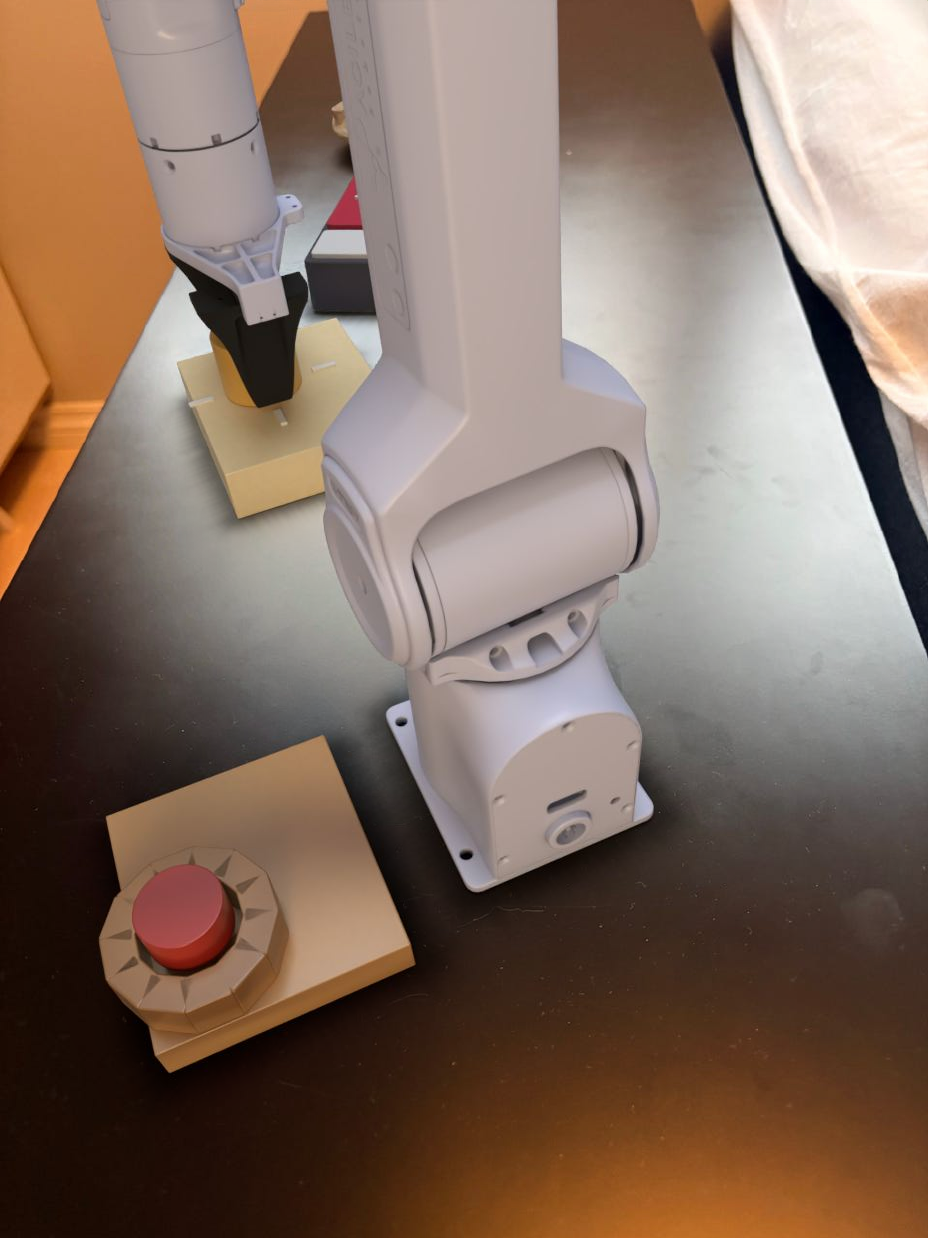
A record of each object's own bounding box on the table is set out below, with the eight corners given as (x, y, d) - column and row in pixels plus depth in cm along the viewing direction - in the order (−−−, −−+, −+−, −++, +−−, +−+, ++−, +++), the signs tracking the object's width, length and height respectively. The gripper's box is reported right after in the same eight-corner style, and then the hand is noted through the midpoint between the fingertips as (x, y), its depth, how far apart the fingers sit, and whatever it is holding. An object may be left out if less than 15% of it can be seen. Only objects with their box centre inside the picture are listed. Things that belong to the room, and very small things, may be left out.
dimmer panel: (411, 464, 55) (405, 417, 53) (232, 521, 53) (218, 474, 51) (343, 359, 63) (335, 314, 61) (185, 405, 61) (170, 360, 59)
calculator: (497, 162, 73) (468, 250, 63) (499, 220, 76) (471, 314, 66) (352, 163, 75) (299, 249, 64) (359, 220, 78) (311, 312, 67)
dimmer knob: (235, 415, 54) (218, 354, 52) (216, 375, 57) (199, 316, 55) (311, 393, 55) (298, 332, 53) (289, 355, 58) (276, 295, 55)
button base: (416, 965, 36) (405, 920, 33) (150, 1082, 33) (116, 1044, 31) (330, 757, 42) (315, 707, 40) (103, 844, 40) (72, 797, 37)
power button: (245, 949, 33) (233, 925, 32) (157, 987, 32) (140, 964, 31) (224, 876, 35) (211, 850, 34) (139, 909, 34) (124, 885, 33)
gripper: (328, 162, 42) (371, 425, 52) (242, 62, 52) (293, 301, 62) (165, 201, 41) (241, 464, 51) (107, 91, 50) (181, 331, 60)
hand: (261, 377), depth 56 cm, fingers closed on dimmer knob, 4 cm apart
